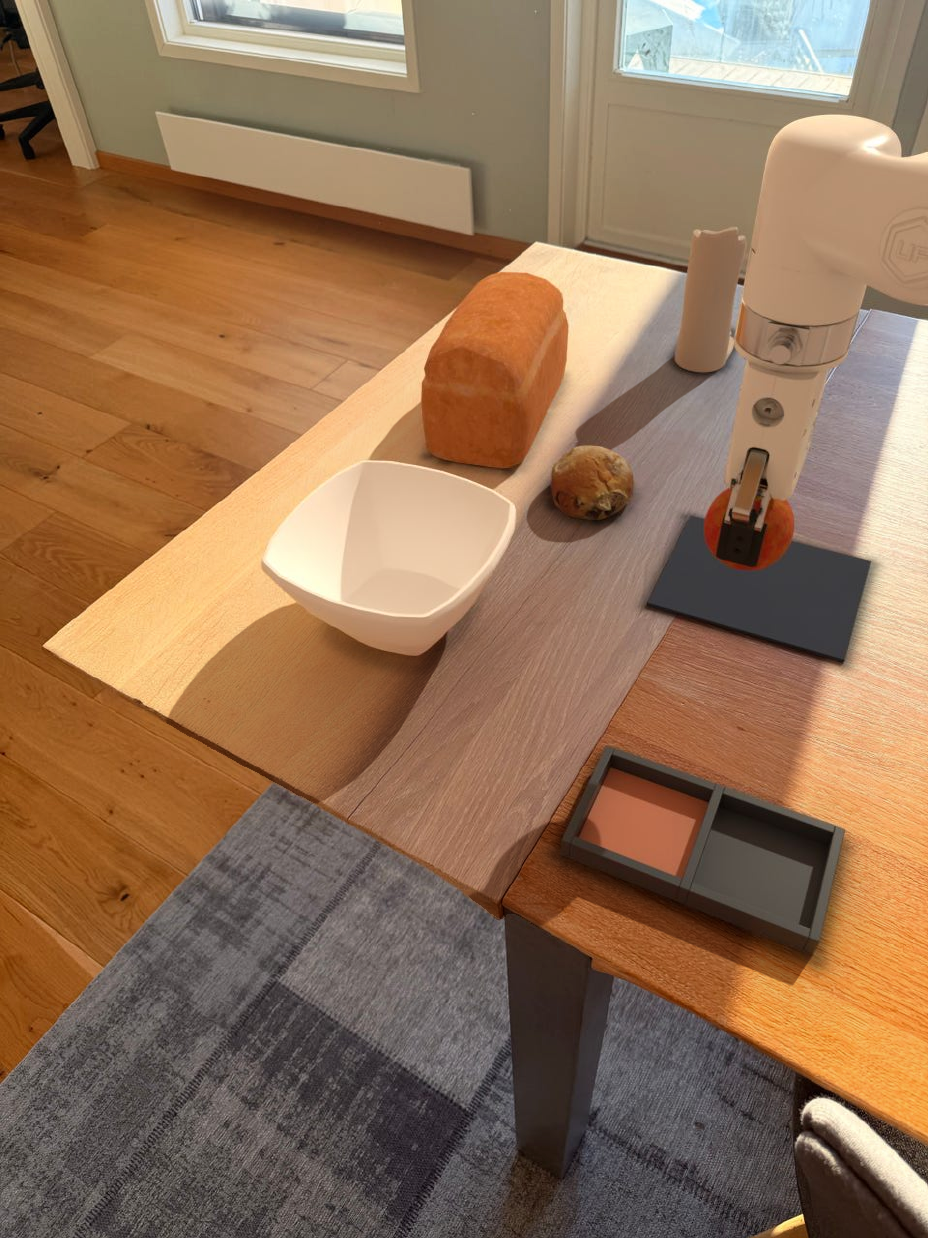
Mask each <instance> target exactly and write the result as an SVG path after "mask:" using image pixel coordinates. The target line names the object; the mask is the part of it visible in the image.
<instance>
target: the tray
mask: <svg viewBox="0 0 928 1238" xmlns="http://www.w3.org/2000/svg"><path fill="white" fill-rule="evenodd" d="M845 833H846V828H844V827H841V826H838V825H836V824H832V823H830V822H827V821H824V820H821V819H818V818H815V817H812V816H810V815H807V814H805V813H801V812H799V811H796V810H793V809H790V808H787V807H784V806H781V805H778V804H776V803H773V802H771V801H768V800H764V799H762V798H759V797H756V796H753V795H750V794H747V793H744V792H742V791H739V790H737V789H733V788H730V787H727V786H724V785H722V784H718V783H716V782H713V781H711V780H708V779H705V778H702V777H699V776H697V775H695V774H691V773H687V772H686V771H682V770H680V769H676V768H673V767H670V766H668V765H665V764H662V763H659V762H656V761H654V760H651V759H648V758H645V757H643V756H639V755H636V754H634V753H631V752H628V751H626V750H623V749H620V748H617V747H613V746H611V745H608V744H607V745H605V747H604V749H603V750H602V752H601V755H600V757H599V759H598V761H597V763H596V766H595V768H594V770H593V772H592V774H591V776H590V778H589V781H588V782H587V785H586V787H585V790H584V791H583V793H582V796H581V798H580V799H579V802H578V804H577V806H576V808H575V810H574V813H573V814H572V816H571V819H570V821H569V823H568V825H567V828H566V829H565V832H564V834H563V836H562V838H561V841H560V842H561V844H560V856H563V857H566V858H568V859H570V860H572V861H575V862H578V863H580V864H582V865H584V866H587V867H590V868H592V869H595V870H597V871H600V872H602V873H604V874H606V875H607V874H608V875H610V876H612V877H615V878H617V879H620V880H622V881H625V882H627V883H630V884H632V885H635V886H637V887H640V888H642V889H645V890H647V891H650V892H652V893H655V894H657V895H660V896H662V897H664V898H667V899H670V900H672V901H674V902H677V903H679V904H682V905H685V906H687V907H689V908H692V909H695V910H696V911H698V912H699V911H700V912H702V913H703V914H707V915H709V916H712V917H714V918H717V919H719V920H722V921H724V922H726V923H729V924H731V925H733V926H736V927H739V928H741V929H743V930H747V931H748V932H751V933H754V934H756V935H759V936H761V937H763V938H767V939H769V940H771V941H774V942H776V943H778V944H781V945H783V946H786V947H789V948H791V949H793V950H795V951H799V952H801V953H803V954H806V955H808V956H811V957H813V956H814V954H815V952H816V950H817V948H818V946H819V945H820V943H821V938H822V933H823V929H824V926H825V925H824V924H825V920H826V916H827V912H828V907H829V903H830V898H831V895H832V889H833V886H834V881H835V877H836V872H837V867H838V863H839V859H840V854H841V850H842V846H843V841H844V837H845Z"/></svg>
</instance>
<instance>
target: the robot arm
mask: <svg viewBox="0 0 928 1238" xmlns="http://www.w3.org/2000/svg"><path fill="white" fill-rule="evenodd" d="M756 209H757V210H756V214H755V221H754V226H753V231H752V235H751V236H752V237H751V243H750V248H749V253H748V258H747V265H746V270H745V275H744V282H743V287H742V291H741V292H742V294H741V300H740V304H739V310H738V316H737V321H736V325H735V326H736V327H735V332H734V336H733V339H734V350H736V352H737V354H738V355H740V357H742V358H743V359H744V360H746V362H745V367H744V372H743V377H742V380H741V386H740V389H739V395H738V400H737V403H736V404H737V405H736V410H735V415H734V421H733V425H732V431H731V435H730V442H729V445H728V447H729V448H728V453H727V459H726V460H727V461H726V465H725V471H724V472H725V473H724V484H725V486H726V487H727V489H728V488H729V489H731V488H732V487H733V489H732V493H731V497H730V501H729V504H728V508H727V512H726V514H725V515H724V517H723V521H722V526H721V531H720V536H719V541H718V546H717V551H716V557H717V558H718V559H721V560H725V561H729V562H733V563H737V564H741V565H745V566H749V567H755V566H757V563H758V560H759V556H760V552H761V548H762V544H763V540H764V536H765V532H766V528H767V524H765V523H764V520H765V517H766V513H767V510H768V506H769V502H770V499H771V497H772V498H774V499H780V501H785V500H787V501H788V499H790V498H791V497H792V496H793V494H794V491H795V489H796V486H797V483H798V481H799V478H800V475H801V473H802V470H803V467H804V464H805V461H806V458H807V456H808V452H809V449H810V446H811V443H812V439H813V435H814V431H815V428H816V427H815V426H816V422H817V419H818V415H819V411H820V407H821V404H822V400H823V396H824V391H825V387H826V383H827V379H828V374H829V370H832V369H834V368H836V367H838V366H839V365H841V364H842V363H843V362H844V361H845V360H846V359H847V357H848V354H849V351H850V347H851V343H852V339H853V336H854V333H855V329H856V325H857V322H858V318H859V314H860V312H861V311H860V310H861V308H862V304H863V301H864V298H865V294H866V291H867V286H868V287H870V288H872V289H873V290H875V291H877V292H880V293H882V294H884V295H886V296H888V297H889V298H892V299H895V300H898V301H900V302H904V303H908V304H911V305H918V306H928V151H926V152H922V153H919V154H915V155H910V156H904V157H903V156H902V144H901V141H900V139H899V137H898V135H897V134H896V133H895V131H894V130H893V129H892V128H891V127H889V126H888V125H886V124H884V123H881V122H879V121H876V120H874V119H871V118H866V117H862V116H857V115H849V114H821V115H820V114H819V115H813V116H807V117H804V118H799V119H796V120H793V121H792V122H790V123H788V124H786V125H785V126H783V127H782V128H781V129H780V130H779V131H778V133H776V135H774V137H773V140H772V141H771V144H770V146H769V148H768V152H767V156H766V160H765V164H764V169H763V176H762V181H761V187H760V192H759V198H758V204H757V208H756ZM760 484H761V485H765V486H768V487H763V486H760ZM756 496H761V497H762V501H761V504H760V508H759V512H758V513H757V510H755V509H753V508H754V503H755V499H756Z"/></svg>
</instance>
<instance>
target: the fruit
mask: <svg viewBox="0 0 928 1238" xmlns="http://www.w3.org/2000/svg"><path fill="white" fill-rule="evenodd" d="M760 486H763V487H768V486H765V485H761V484H760ZM732 489H733V487H732V488H731V489H729V488H728V487H727V488H726V489H724V490H723V491H721V492H720V493H719V494H718V495H717V496H716V497H715V498H714V499H713V501H712V502H711V504H710V506H709V508H708V509H707V511H706V514H705V517H704V519H705V522H704V536H705V541H706V544H707V546H708V548H709V550H710V551H711V553H712V554H713V555H714V556H715V557H716V551H717V546H718V541H719V536H720V531H721V526H722V521H723V517H724V515H725V514H726V512H727V508H728V504H729V501H730V497H731V493H732ZM761 501H762V497H761V496H756V499H755V503H754V508H753V509H755V510H757V513H758V512H759V508H760V504H761ZM764 523H765V524H767V528H766V532H765V536H764V540H763V544H762V548H761V552H760V556H759V560H758V563H757V566H755V567H749V566H745V565H741V564H737V563H733V562H729V561H725V560H721V559H718V558H717V557H716V558H717V559H718V560H719V561H720V562H722V563H723V564H725V565H727V566H729V567H731V568H734V569H737V570H762V569H764V568H766V567H768V566H769V565H772V564H773V563H775V562H776V561H778V560H779V559H780V558H781V557H782V556H783V555H784V554H785V552H786V551H787V549H788V547H789V545H790V543H791V541H793V537H794V533H795V516H794V512H793V508H792V506H791V504H790V503H789V500H788V499H787V500H785V501H780V499H774V498H772V497H771V499H770V502H769V506H768V510H767V513H766V517H765V520H764Z"/></svg>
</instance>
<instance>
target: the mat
mask: <svg viewBox="0 0 928 1238" xmlns="http://www.w3.org/2000/svg"><path fill="white" fill-rule="evenodd" d="M704 522H705V518H702V517H698V516H695V515H690V517H689V518H688V520H687V521H686V524H685V526H684V528H683V530H682V532H681V534H680V536H679V539H678V540H677V542H676V544H675V546H674V548H673V550H672V552H671V554H670V557H669V559H668V560H667V563H666V565H665V566H664V568H663V570H662V573H661V575H660V576H659V579H658V580H657V583H656V585H655V586H654V589H653V590H652V592H651V595H650V596H649V598H648V600H647V603H646V605H647V606H648V607H652V608H656V609H659V610H663V611H666V612H669V613H673V614H676V615H679V616H683V617H686V618H690V619H693V620H697V621H700V622H703V623H706V624H710V625H714V626H717V627H720V628H724V629H728V630H731V631H735V632H738V633H741V634H745V635H748V636H750V637H751V636H752V637H754V638H758V639H762V640H765V641H769V642H772V643H775V644H779V645H782V646H786V647H788V648H792V649H795V650H799V651H803V652H805V653H809V654H813V655H816V656H820V657H823V658H826V659H830V660H833V661H837V662H840V663H845V660H846V656H847V653H848V649H849V645H850V641H851V637H852V634H853V630H854V626H855V624H856V618H857V615H858V612H859V608H860V605H861V600H862V598H863V597H862V596H863V594H864V590H865V585H866V582H867V578H868V575H869V570H870V566H871V563H872V561H871V560H869V559H865V558H861V557H857V556H853V555H849V554H845V553H841V552H837V551H833V550H829V549H825V548H821V547H818V546H813V545H809V544H805V543H801V542H798V541H793V540H792V541H791V543H790V545H789V547H788V549H787V551H786V552H785V554H784V555H783V556H782V557H781V558H780V559H779V560H778V561H776V562H775V563H773V564H772V565H769V566H768V567H766V568H764V569H762V570H737V569H734V568H731V567H729V566H727V565H725V564H723V563H722V562H720V561H719V560H718V559H717V558H716V557H715V556H714V555H713V554H712V553H711V551H710V550H709V548H708V546H707V544H706V541H705V536H704Z"/></svg>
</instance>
